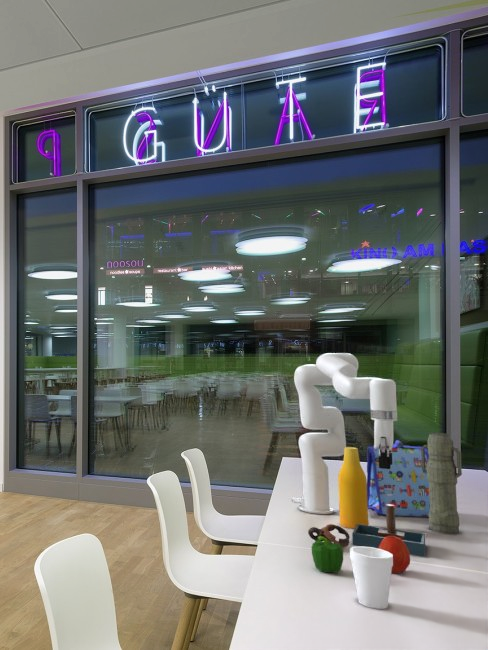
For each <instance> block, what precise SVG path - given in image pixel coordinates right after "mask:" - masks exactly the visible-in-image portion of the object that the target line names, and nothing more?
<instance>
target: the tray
mask: <svg viewBox="0 0 488 650" xmlns="http://www.w3.org/2000/svg"><path fill="white" fill-rule="evenodd" d="M379 529H385V530H387V527H380V526H374V525H361V524H357V525H356V527H355V529H353V531H352V546H355V547H358V546H364V547H373V548H377V549H378V548H379V546H380V544H381V542H382V540H383V539H384V538H385V537H379V536H378V531H379ZM396 531H398V532H405V540H403V542H404V543H405V544H406V546H407V548H408V550H409V553H410V556H416V557H421V558H425V556H426V547H427V546H426V545H427V544H426V533H421V532H414V531H409V530H402V529H396Z"/></svg>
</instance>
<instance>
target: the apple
mask: <svg viewBox="0 0 488 650" xmlns="http://www.w3.org/2000/svg"><path fill="white" fill-rule="evenodd" d="M378 549H382V550H385V551H388V552H390V553H391V554H393V566H392V570H391V574H401V573H404V572H405V571H406V570H407V569H408V568H409V566H410V565H411V555H410V553H409V550H408V548H407V546H406V544H405V543H404V542H403V540H401V539H400V538H398V537H396V536H394V535H393V536H387V537H385V538H384V539H383V540H382V542H381V544H380V546H379V548H378Z"/></svg>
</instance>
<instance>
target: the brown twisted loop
mask: <svg viewBox="0 0 488 650" xmlns="http://www.w3.org/2000/svg"><path fill="white" fill-rule="evenodd" d="M335 530H337V532H338V534H342V535H344V536H345V538H338V540H336V537H337V536H335V535H334V534H333V533H332V532H333V531H335ZM307 533H308V536H309V538H310V539H311V540H313V541H314V542H316V541H317V540H319V539H318V537H319V536H322V537H325V538H326V539H327V541H330V542H332V543H334V544H339V545H341V547H342V549H345V548H347V547H348V546H349V545H350V534H349V532H348V531H347V530H346V529H345V528H344V527H342V526H340V525H336V524H333V523H331V524H330V523H329V524H326V525H325V526H323V527H322V528H319V527H315V526H313V527H310V528H309V529H308V530H307ZM315 534H316V535H315ZM320 541H322V542H324V540H323V539H321V540H320Z"/></svg>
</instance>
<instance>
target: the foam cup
mask: <svg viewBox="0 0 488 650" xmlns="http://www.w3.org/2000/svg"><path fill="white" fill-rule="evenodd" d="M349 557H350V558H349V559H350V560H351V566H352V572H353V577H354V581H355V582H354V583H355V588H356V595H357V600H358V603H359V604H361V605H363V606H365V607H367V608H371V609H378V610H383V609H384V610H385V609H388V606H389V597H390V587H391V578H392V573H391V570H392V566H393V554H391V553H390V552H388V551H385V550H382V549H377V548H373V547H364V546H352V547H350V548H349Z"/></svg>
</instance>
